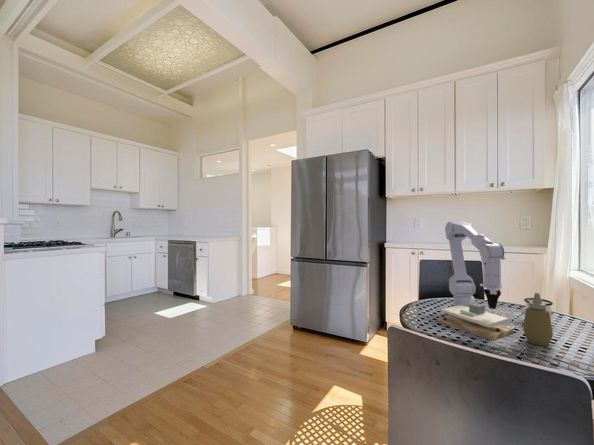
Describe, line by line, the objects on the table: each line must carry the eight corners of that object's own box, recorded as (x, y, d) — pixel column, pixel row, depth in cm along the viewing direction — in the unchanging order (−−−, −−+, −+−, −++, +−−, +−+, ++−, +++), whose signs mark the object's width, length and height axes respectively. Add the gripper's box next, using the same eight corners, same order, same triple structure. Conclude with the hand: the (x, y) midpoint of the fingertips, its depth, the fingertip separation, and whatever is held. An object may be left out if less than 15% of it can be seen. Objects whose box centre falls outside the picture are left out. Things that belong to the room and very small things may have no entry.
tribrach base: (459, 316, 129) (459, 307, 129) (513, 332, 109) (513, 322, 109) (437, 321, 122) (437, 312, 122) (490, 340, 102) (490, 329, 102)
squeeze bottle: (517, 338, 103) (516, 290, 103) (537, 337, 104) (536, 289, 104) (538, 348, 95) (537, 296, 95) (559, 347, 96) (558, 295, 96)
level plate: (460, 307, 127) (460, 297, 127) (508, 321, 109) (508, 310, 109) (441, 311, 122) (441, 301, 122) (489, 327, 104) (489, 315, 104)
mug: (534, 316, 126) (534, 297, 126) (559, 324, 117) (558, 302, 117) (514, 319, 123) (514, 299, 123) (537, 327, 114) (537, 305, 114)
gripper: (479, 270, 118) (479, 302, 118) (480, 276, 106) (480, 311, 106) (499, 271, 114) (499, 304, 115) (503, 278, 102) (503, 315, 102)
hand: (492, 308), depth 110 cm, fingers closed
